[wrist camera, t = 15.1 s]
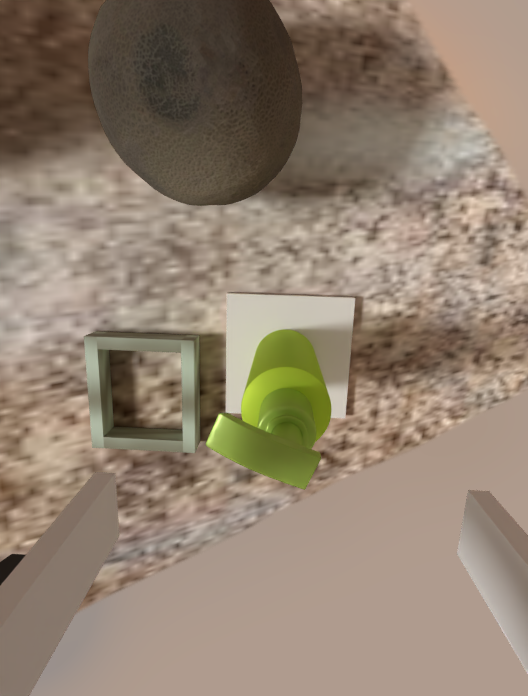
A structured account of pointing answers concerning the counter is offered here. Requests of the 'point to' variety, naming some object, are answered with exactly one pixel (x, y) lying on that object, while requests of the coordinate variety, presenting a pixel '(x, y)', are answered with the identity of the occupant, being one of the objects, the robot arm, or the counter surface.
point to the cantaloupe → (196, 94)
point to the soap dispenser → (278, 412)
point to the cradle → (102, 392)
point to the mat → (298, 315)
